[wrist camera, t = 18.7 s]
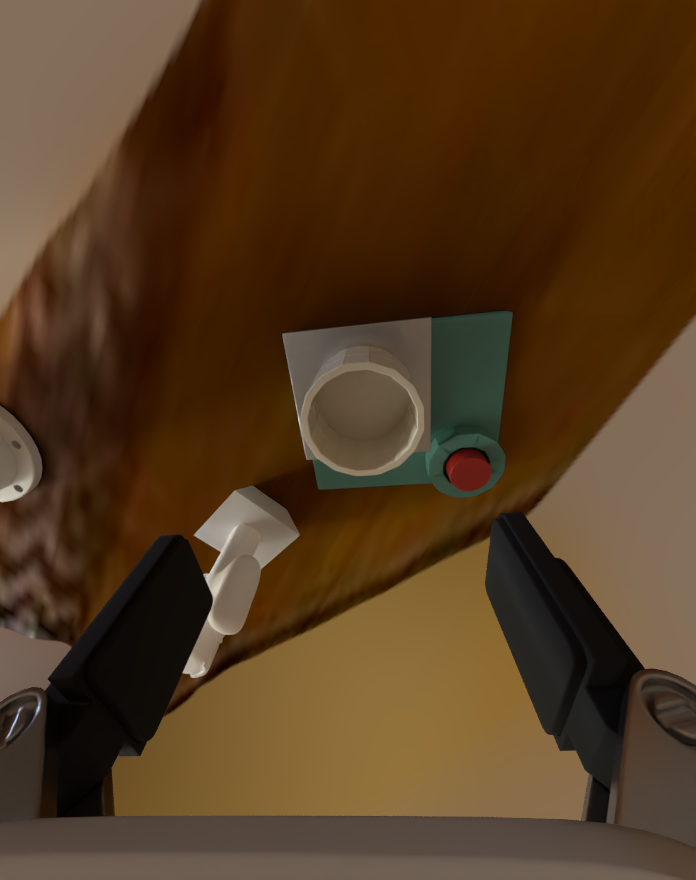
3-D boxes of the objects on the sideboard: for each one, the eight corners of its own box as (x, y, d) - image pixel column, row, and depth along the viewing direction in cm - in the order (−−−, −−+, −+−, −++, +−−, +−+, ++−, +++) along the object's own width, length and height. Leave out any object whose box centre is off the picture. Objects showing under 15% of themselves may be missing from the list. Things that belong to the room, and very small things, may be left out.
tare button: (445, 482, 27) (449, 492, 26) (446, 449, 26) (450, 459, 24) (483, 479, 27) (489, 490, 26) (486, 446, 26) (493, 456, 24)
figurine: (205, 516, 34) (99, 670, 20) (255, 461, 30) (167, 603, 17) (260, 551, 36) (197, 713, 22) (313, 503, 32) (275, 661, 19)
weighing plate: (312, 440, 29) (306, 460, 26) (292, 326, 25) (281, 333, 22) (423, 432, 28) (430, 451, 25) (422, 312, 24) (431, 317, 21)
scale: (320, 486, 31) (316, 505, 29) (293, 333, 25) (285, 339, 22) (488, 476, 30) (501, 495, 27) (506, 310, 23) (524, 314, 21)
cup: (321, 444, 25) (311, 479, 21) (305, 351, 22) (290, 369, 18) (414, 437, 25) (424, 472, 20) (412, 340, 21) (424, 356, 17)
